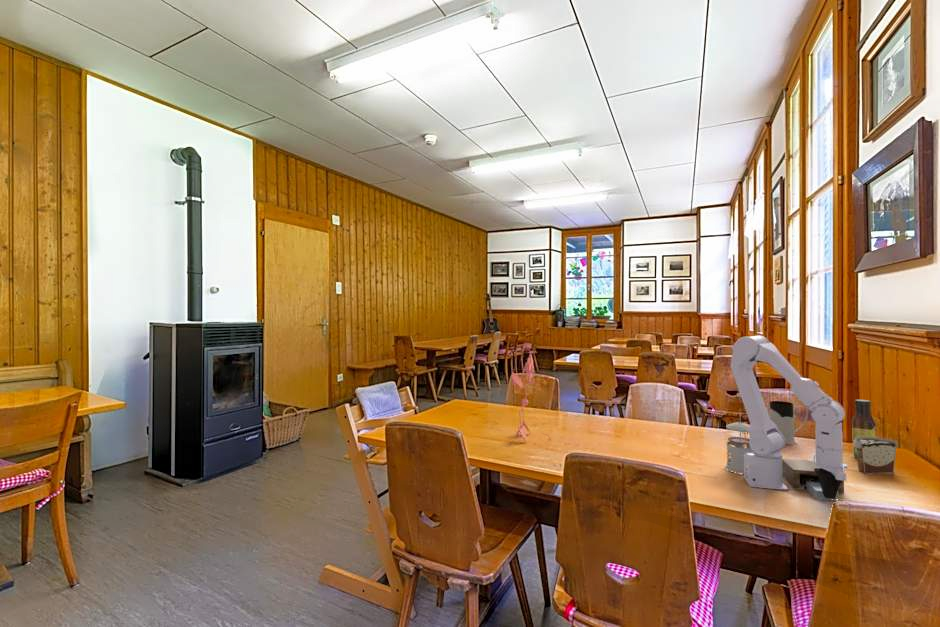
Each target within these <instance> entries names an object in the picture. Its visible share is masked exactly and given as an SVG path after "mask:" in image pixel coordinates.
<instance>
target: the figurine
mask: <svg viewBox="0 0 940 627" xmlns="http://www.w3.org/2000/svg"><path fill="white" fill-rule="evenodd" d="M524 364H525V365H524V367H523V370H522V373H521V375H520V376H519V375H518V374H517V373H515V372H514V371H511V378H512V384H513V388H515V387H516V386H518V387H520V388H521V389H523V387H524V388H525V398H523V399H522V401H521V404H522V405H521V408H520V409H519V410H518V414H519V425H518V426H517V429H518V430H517V432H516V433H515V436H514V437H516V438H517V437H518V433H519V432H520V433H519V434H520V435H521V437H522V439H523V440H524V441H525V440H526V439H527V440H528V438H527V435H526V432H525V431H524V429H523V427H524V428H525V429H526V430H527V432H528V431H529V432H530V433H531V431H530V429H529V427H528V426H527V424H526V422H525V415H524V408H525V407H526V406H528V404H529V400H528V399H527V396H528V388H527V386H526V385H525V384H524V383H523V381H522V379H523V376H524V374H525V373H526V376H525V377H526V379H527V382H528V385H530V384H531V379H533V374H534V375H536V372H535V370H534V369H535V366H534V359H533V356H532V353H529V355H528V357H527V362H525V363H524ZM521 412H522V417H523V420H522V421H521V418H522V417H521ZM529 432H528V433H529Z"/></svg>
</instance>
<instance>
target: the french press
mask: <svg viewBox="0 0 940 627" xmlns="http://www.w3.org/2000/svg"><path fill="white" fill-rule="evenodd" d="M736 397H737V398H738V397H739V398H741V395H740V392H737V393H736ZM741 418H742V415H741V410H739V421H737V422H732V423H729V424H726V426H725V427H726V429H728V430H730V431H733V432H737V433H738V432H739V436H730V437H728V438H727V441H728V442H726V464H725V465H726V466H725V465H724V466H725V468H726V469H728V470H730V471H733V472H736V473H742V474H744V454H745V453H752V452H753V450H752V449H751V447H750V445H749V440H750V438H748V437H747V435H749V432H748V431H749V427H750V424H748V423H746V422H742V421H741ZM742 435H744V437H742ZM745 447H746V448H745Z"/></svg>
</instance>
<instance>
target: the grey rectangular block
mask: <svg viewBox="0 0 940 627" xmlns="http://www.w3.org/2000/svg"><path fill="white" fill-rule="evenodd" d="M805 486H806V490H807V491H808V492H809V493H810V494H811V495H812V496H813V497H814V498H815V499H817V500H824V499H827V501H829V500H828V499H830V498H825V497H824V495H823V492H822V488H821V484H820V482H814V481H811V480H810V481H806V485H805ZM836 499H838V500H839V493H838V492H837V494H836V497H835V499H833V500H832V501H834V500H835V501H836V502H838V501H837V500H836Z"/></svg>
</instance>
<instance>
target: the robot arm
mask: <svg viewBox="0 0 940 627" xmlns="http://www.w3.org/2000/svg"><path fill="white" fill-rule="evenodd" d="M731 349H732V354H731V355H732V356H731V362H730V368H731V372H732V375H733V378H734V380H735V382H736V386H737V390H738V393H740V395H741V397H740V399H741V400H742V403H743V406H744V409H745V412H746V415H747V418H748V420H749V425H750V427H749V431H748V435H749V439H750V440H749V445H750V447H751V449H752V450H753V452H752V453H745V454H744V475H743V479H744V480H745V482H746V483H747V484H748V485H749V487H751V488H761V489H769V490H770V489H771V490H782V491H788V490H789V488H788V487H787V486H786V485H785V484H784V483H783V479H784V478H783V477H782V459H783V453H782V449H783V448H784V447H785V446H786V445H785V438H784V436H783V435H782V434H781V433H780V432H779V430H778V428H777V426H776V424H775V423H774V422H772V421H771V420H770V417H769V411H768V408H767V407H766V403H765V401H764V398H763V394H762V393H761V389H760V387H759V384H758V381H757V379H756V376H755V373H754V371H753V368H754V367H755V365H756V363H757V362H758V361H759V362H763V363H767V364H768V365H770V366H771V367H772V368H773V369H775V371H776V372H777V373H778V374H779V375H780V376H782V377H783V379H785V380H786V381H787V382H788V383H789V384H790V391H791V393H793V394H794V395H795V397H796V398H797V399H798V400H799V401H800V402H801V403H802V404H803V405H804V407H806V408H807V410H808V411H811V413H810V415H811V418H812V420H813V421H814V422H815V429H814V430H815V432H814V433H815V435H814V436H815V437H814V438H815V454H813V461H814V462H815V465H816V466H818V467H820V468H814V471H815V472H816V474H817V476H818V478H819V481H820V484H821V488H822V492H823V495H824V497H825V498H830V499H835V497H836V494H837V491H838V488H839V486H840V484H841V482H842V481H844V482H846V481H847V472H845V469H846V470H847V469H849V465H847V464H846V463H844V456H843V455H844V452H843V451H844V450H843V449H844V448H843V446H844V445H843V444H844V440H843V439H844V438H843V433H844V432H843V422H842V421H843V420H844V419H845V416H846V411H845V409H844V407H843V406H842V404H841V403H840V402H838V401H835V400H834V399H833V398H832V397H831V396H828V395H827V394H826V393H825V392H824V391H823V389H821V388H820V387H819V386H820V384H819V383H818V382H817V381H816V380H815V381H813V380H812V379H811V378H804V377H803V376H802V375H801V374H800V373H799V372H798V371H797V370H796V369H795V367H793V365H791V364H792V363H790V362H789V361H788V360H787V359H786V358H785V357H784V355H782V353H781V352H780V351H779V350H778V349H777V347H776V345H775V344H774V343H772V342H770V340H768V338H767V337H765V336H763V335H760V334H759V335H753V336H742V337H739V338H738V339H737V340H736V341H735V342H734V344H733V345H732V347H731Z"/></svg>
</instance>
